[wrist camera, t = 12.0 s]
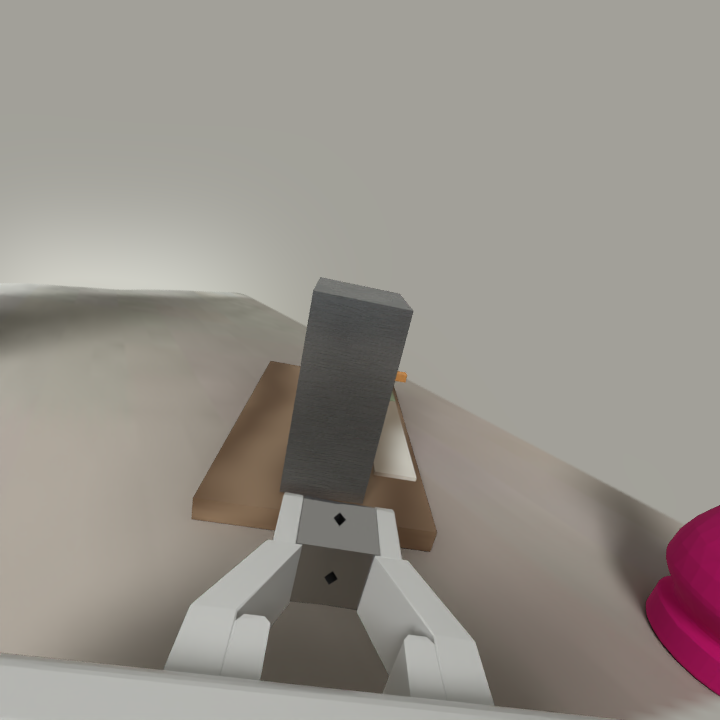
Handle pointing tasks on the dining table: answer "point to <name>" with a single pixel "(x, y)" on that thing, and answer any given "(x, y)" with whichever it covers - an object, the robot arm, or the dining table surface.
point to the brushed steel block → (343, 389)
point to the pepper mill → (691, 599)
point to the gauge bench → (267, 455)
